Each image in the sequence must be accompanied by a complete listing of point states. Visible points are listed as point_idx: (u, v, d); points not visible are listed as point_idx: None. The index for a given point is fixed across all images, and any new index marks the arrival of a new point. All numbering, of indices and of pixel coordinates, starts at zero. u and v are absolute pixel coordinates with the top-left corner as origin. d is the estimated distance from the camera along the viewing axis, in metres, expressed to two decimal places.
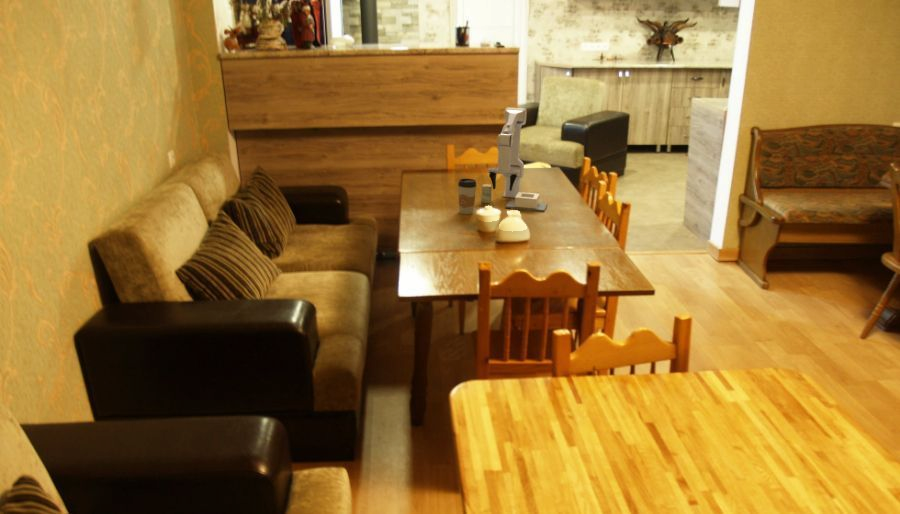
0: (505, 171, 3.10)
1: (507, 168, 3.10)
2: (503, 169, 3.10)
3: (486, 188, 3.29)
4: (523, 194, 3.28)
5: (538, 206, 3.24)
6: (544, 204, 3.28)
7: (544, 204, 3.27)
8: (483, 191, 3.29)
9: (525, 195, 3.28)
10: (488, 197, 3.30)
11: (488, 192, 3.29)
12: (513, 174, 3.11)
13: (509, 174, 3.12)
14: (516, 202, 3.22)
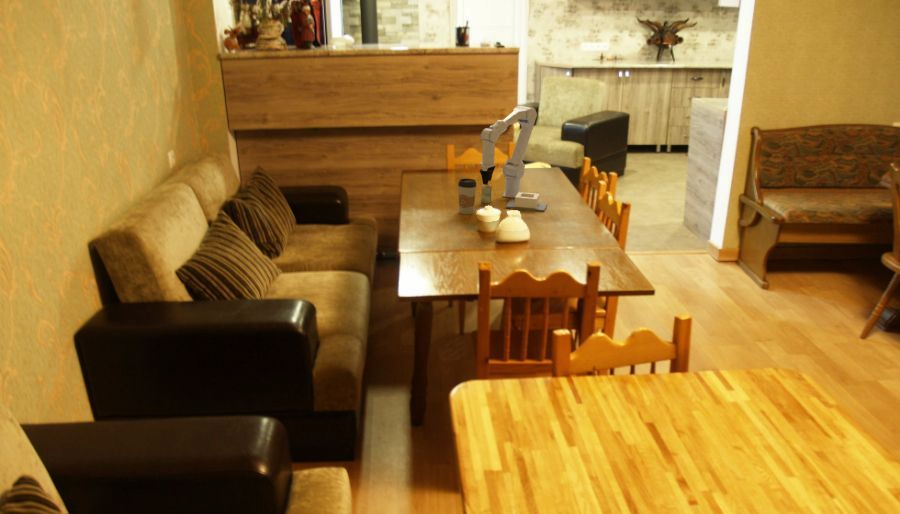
0: (481, 163, 3.26)
1: (483, 161, 3.24)
2: (482, 161, 3.26)
3: (486, 188, 3.29)
4: (523, 194, 3.28)
5: (538, 206, 3.24)
6: (544, 204, 3.28)
7: (544, 204, 3.27)
8: (483, 191, 3.29)
9: (525, 195, 3.28)
10: (488, 197, 3.30)
11: (488, 192, 3.29)
12: None
13: None
14: (516, 202, 3.22)
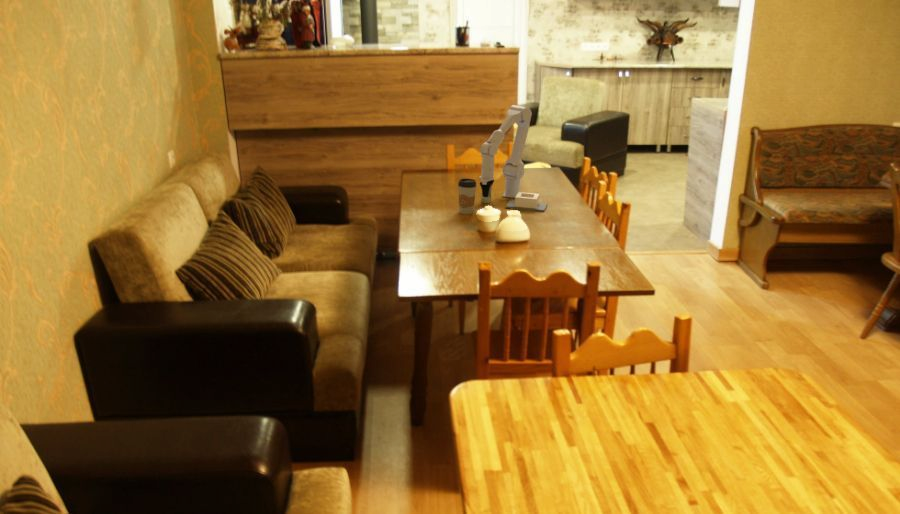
0: (481, 177, 3.28)
1: (482, 175, 3.27)
2: (481, 175, 3.28)
3: None
4: (523, 194, 3.28)
5: (538, 206, 3.24)
6: (544, 204, 3.28)
7: (544, 204, 3.27)
8: None
9: (525, 195, 3.28)
10: (488, 197, 3.30)
11: None
12: None
13: None
14: (516, 202, 3.22)
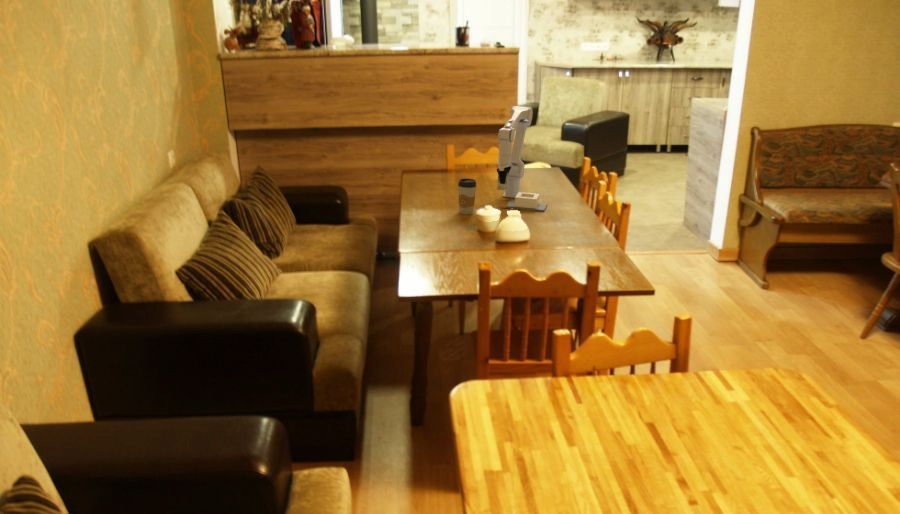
0: (498, 163, 3.23)
1: (499, 161, 3.22)
2: None
3: None
4: (523, 194, 3.28)
5: (538, 206, 3.24)
6: (544, 204, 3.28)
7: (544, 204, 3.27)
8: None
9: (525, 195, 3.28)
10: (504, 184, 3.25)
11: None
12: None
13: None
14: (516, 202, 3.22)
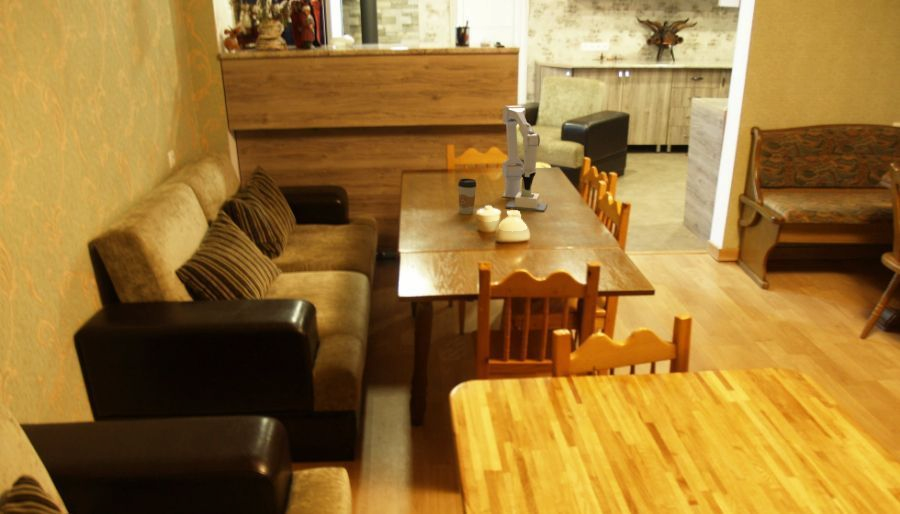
0: (523, 169, 3.20)
1: (524, 167, 3.18)
2: (523, 167, 3.20)
3: None
4: None
5: (538, 206, 3.24)
6: (544, 204, 3.28)
7: (544, 204, 3.27)
8: (523, 184, 3.21)
9: None
10: (528, 190, 3.22)
11: None
12: None
13: None
14: (516, 202, 3.22)
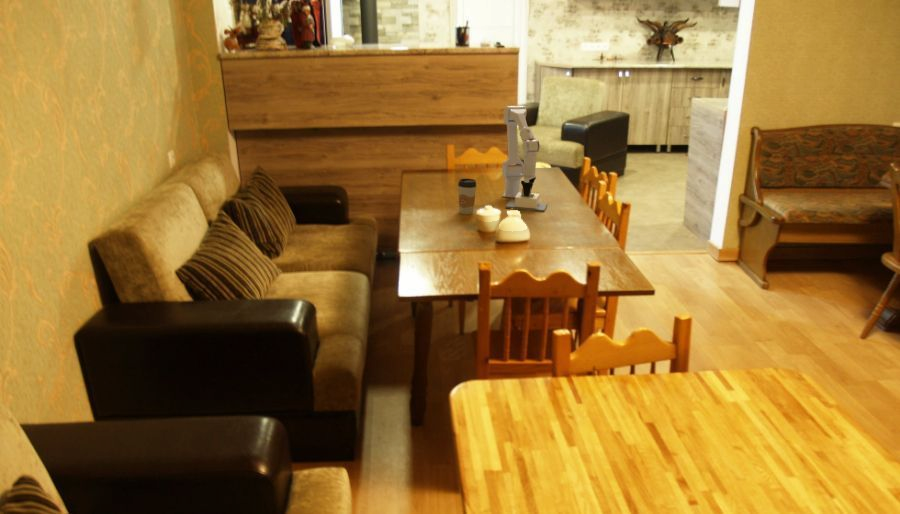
0: (522, 175, 3.20)
1: (524, 172, 3.19)
2: (522, 172, 3.21)
3: None
4: None
5: (538, 206, 3.24)
6: (544, 204, 3.28)
7: (544, 204, 3.27)
8: (523, 194, 3.23)
9: None
10: None
11: None
12: None
13: None
14: (516, 202, 3.22)
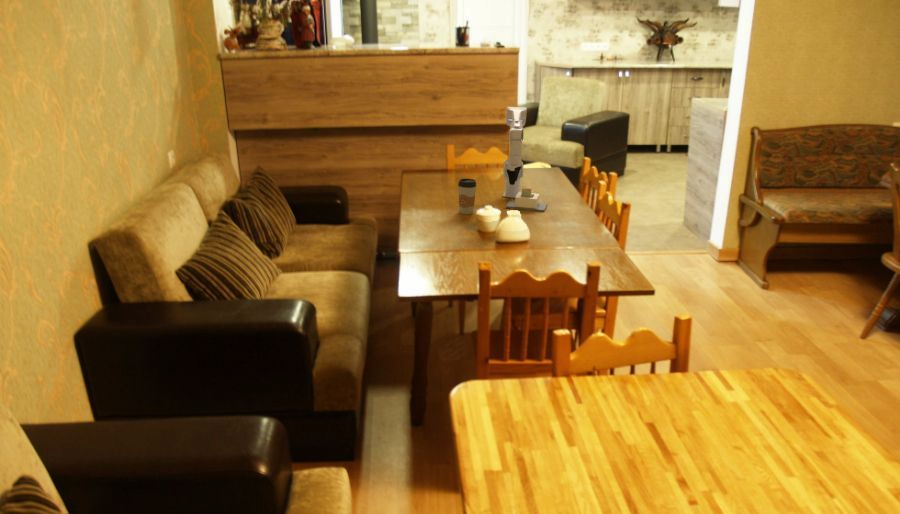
0: (508, 163, 3.23)
1: (510, 161, 3.22)
2: (508, 161, 3.24)
3: (526, 191, 3.22)
4: None
5: (538, 206, 3.24)
6: (544, 204, 3.28)
7: (544, 204, 3.27)
8: (523, 194, 3.23)
9: None
10: None
11: (528, 195, 3.22)
12: None
13: None
14: (516, 202, 3.22)
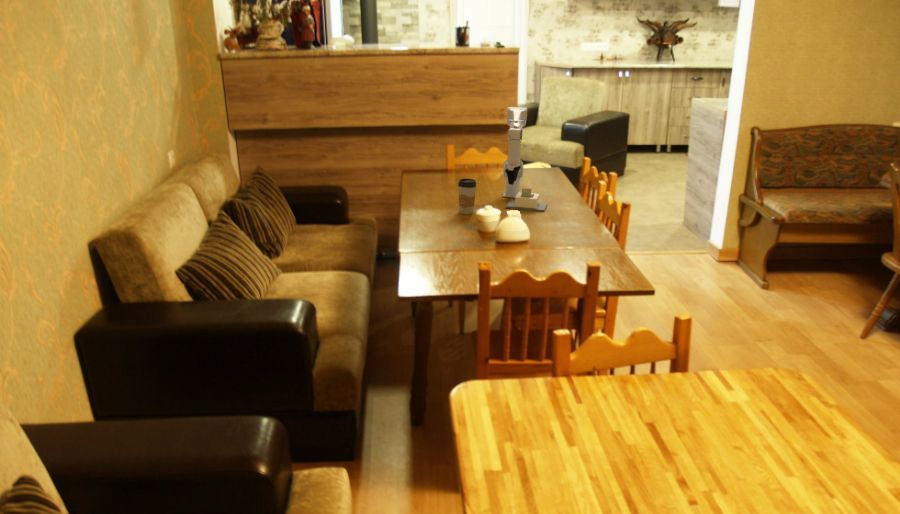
0: (507, 163, 3.23)
1: (509, 161, 3.22)
2: (507, 161, 3.24)
3: (526, 191, 3.22)
4: None
5: (538, 206, 3.24)
6: (544, 204, 3.28)
7: (544, 204, 3.27)
8: (523, 194, 3.23)
9: None
10: None
11: (528, 195, 3.22)
12: None
13: None
14: (516, 202, 3.22)
